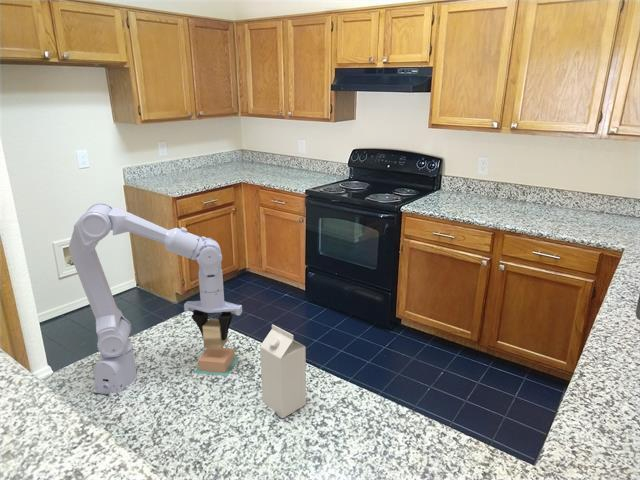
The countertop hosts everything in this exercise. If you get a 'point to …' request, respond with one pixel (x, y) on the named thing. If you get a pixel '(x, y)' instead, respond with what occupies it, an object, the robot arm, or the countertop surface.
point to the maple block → (213, 335)
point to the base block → (216, 360)
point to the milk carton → (283, 372)
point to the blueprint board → (219, 373)
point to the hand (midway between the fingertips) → (215, 337)
